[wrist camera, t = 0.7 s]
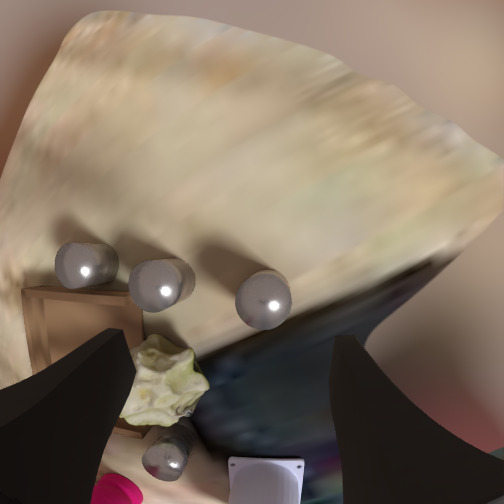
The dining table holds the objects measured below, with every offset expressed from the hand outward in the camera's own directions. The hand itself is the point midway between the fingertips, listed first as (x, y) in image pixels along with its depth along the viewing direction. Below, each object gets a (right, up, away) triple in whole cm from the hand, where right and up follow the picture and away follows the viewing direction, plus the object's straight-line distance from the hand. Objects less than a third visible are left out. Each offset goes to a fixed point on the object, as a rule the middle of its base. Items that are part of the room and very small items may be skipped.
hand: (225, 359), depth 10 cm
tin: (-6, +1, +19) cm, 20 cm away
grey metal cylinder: (+2, 0, +18) cm, 18 cm away
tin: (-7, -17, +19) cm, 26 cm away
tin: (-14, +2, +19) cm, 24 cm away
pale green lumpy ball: (-8, -8, +19) cm, 22 cm away
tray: (-16, -8, +20) cm, 26 cm away
